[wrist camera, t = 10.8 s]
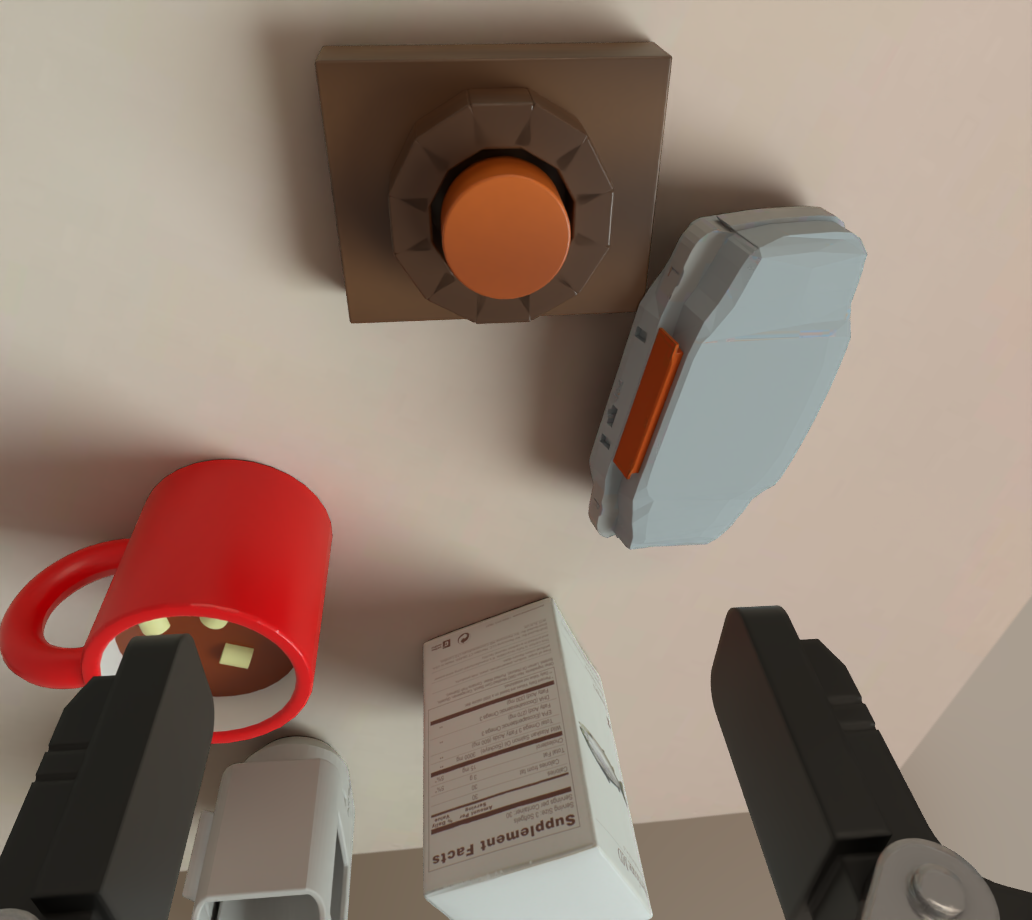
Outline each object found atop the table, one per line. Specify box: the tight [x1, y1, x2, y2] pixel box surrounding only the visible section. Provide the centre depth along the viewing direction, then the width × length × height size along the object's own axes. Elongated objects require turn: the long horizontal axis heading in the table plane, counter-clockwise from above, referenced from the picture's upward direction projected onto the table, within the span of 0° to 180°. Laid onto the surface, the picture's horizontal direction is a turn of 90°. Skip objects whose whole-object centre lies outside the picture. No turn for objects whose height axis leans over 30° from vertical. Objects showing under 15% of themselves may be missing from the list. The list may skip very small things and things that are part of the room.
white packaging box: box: [423, 598, 653, 920], centre depth 36 cm, size 7×7×13 cm
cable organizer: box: [182, 736, 355, 920], centre depth 41 cm, size 7×12×12 cm, turn 178°
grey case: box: [588, 206, 867, 550], centre depth 30 cm, size 14×3×8 cm
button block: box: [315, 42, 672, 324], centre depth 24 cm, size 8×10×4 cm
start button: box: [441, 156, 571, 299], centre depth 23 cm, size 4×4×2 cm
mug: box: [0, 460, 333, 744], centre depth 31 cm, size 8×12×8 cm, turn 93°
